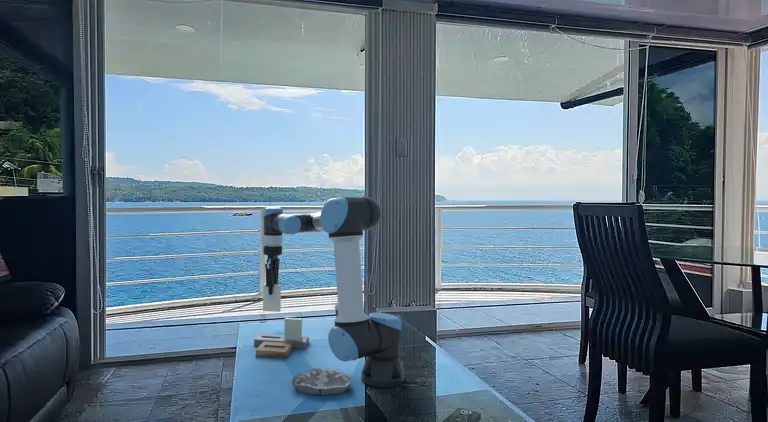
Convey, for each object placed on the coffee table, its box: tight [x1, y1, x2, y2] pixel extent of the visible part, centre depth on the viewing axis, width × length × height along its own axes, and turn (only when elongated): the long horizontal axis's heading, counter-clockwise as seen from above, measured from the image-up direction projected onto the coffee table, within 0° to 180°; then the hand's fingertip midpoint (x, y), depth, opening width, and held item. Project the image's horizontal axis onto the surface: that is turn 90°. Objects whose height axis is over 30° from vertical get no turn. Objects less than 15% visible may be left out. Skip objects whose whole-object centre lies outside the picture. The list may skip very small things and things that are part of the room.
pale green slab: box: [262, 283, 282, 313], centre depth 216 cm, size 2×7×11 cm, turn 85°
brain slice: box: [291, 368, 352, 396], centre depth 177 cm, size 20×17×3 cm
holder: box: [255, 341, 294, 359], centre depth 207 cm, size 10×12×2 cm
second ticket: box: [283, 317, 303, 340], centre depth 216 cm, size 2×7×11 cm, turn 85°
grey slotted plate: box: [253, 332, 310, 350], centre depth 217 cm, size 8×21×2 cm, turn 85°
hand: (271, 301), depth 216 cm, fingers closed on pale green slab, 2 cm apart
